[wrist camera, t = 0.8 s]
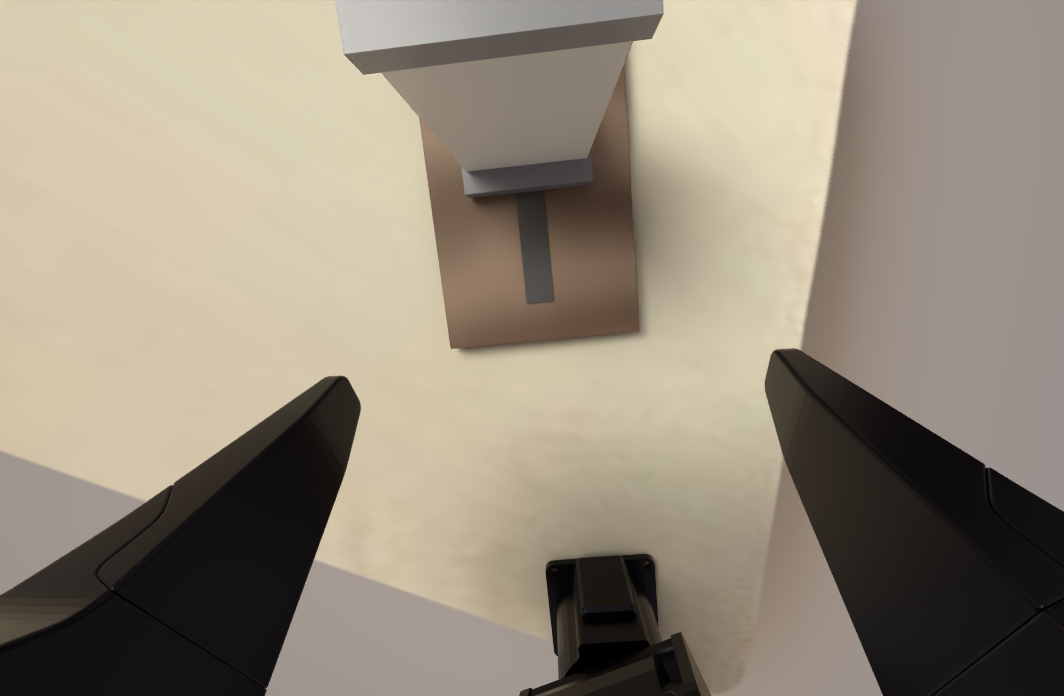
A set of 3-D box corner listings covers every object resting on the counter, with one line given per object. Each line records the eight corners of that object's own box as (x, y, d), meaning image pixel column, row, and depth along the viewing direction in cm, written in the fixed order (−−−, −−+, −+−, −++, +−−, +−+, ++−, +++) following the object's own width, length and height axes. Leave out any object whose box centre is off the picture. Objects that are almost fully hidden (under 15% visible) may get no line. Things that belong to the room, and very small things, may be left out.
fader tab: (594, 184, 22) (666, 69, 9) (465, 198, 22) (352, 107, 9) (586, 73, 21) (653, -236, 8) (451, 89, 21) (305, -183, 8)
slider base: (634, 327, 25) (652, 340, 20) (455, 344, 25) (437, 360, 21) (600, -250, 20) (614, -383, 16) (380, -215, 20) (338, -337, 16)
